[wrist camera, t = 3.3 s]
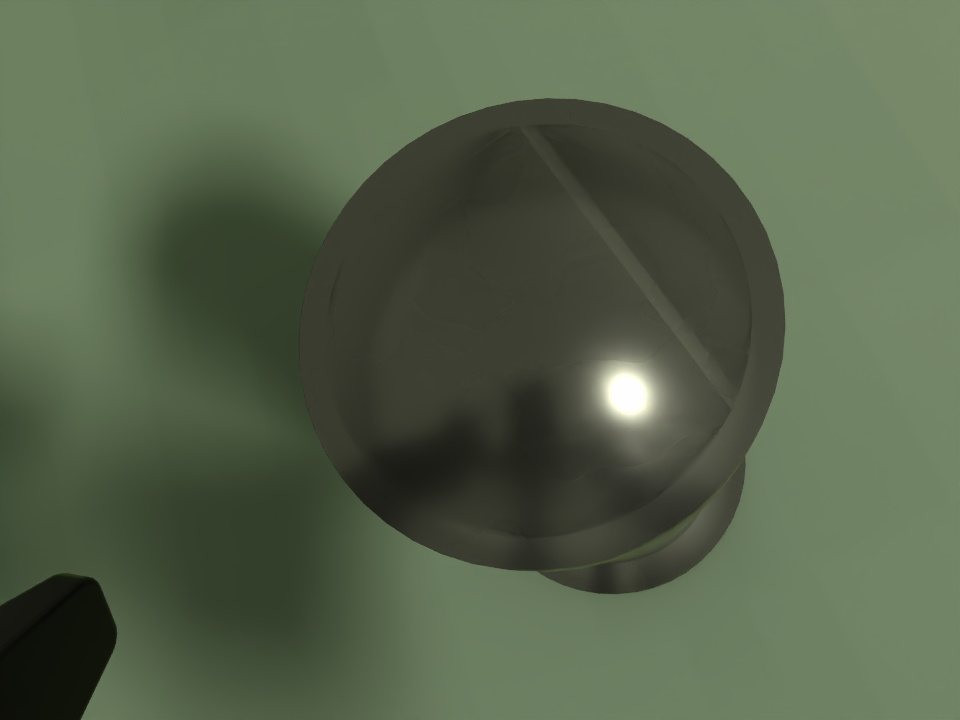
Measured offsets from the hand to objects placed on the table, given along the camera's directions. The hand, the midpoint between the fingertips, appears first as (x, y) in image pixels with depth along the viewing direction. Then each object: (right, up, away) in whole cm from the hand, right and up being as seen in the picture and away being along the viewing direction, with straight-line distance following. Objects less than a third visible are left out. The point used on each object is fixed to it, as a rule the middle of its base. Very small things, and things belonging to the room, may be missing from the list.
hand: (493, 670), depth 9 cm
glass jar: (+3, +1, +11) cm, 11 cm away
